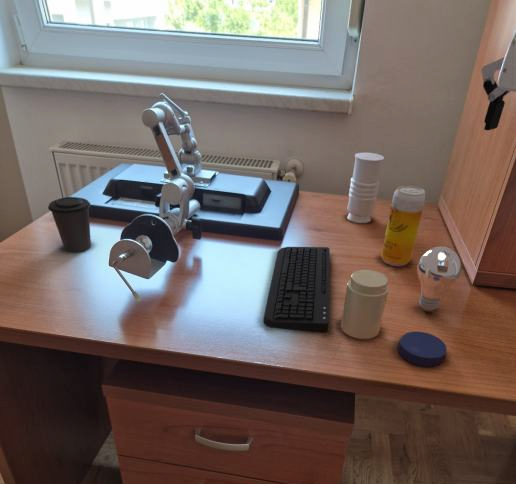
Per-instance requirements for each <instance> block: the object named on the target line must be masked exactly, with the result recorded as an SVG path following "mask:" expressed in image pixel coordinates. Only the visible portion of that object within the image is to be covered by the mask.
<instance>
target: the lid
mask: <svg viewBox="0 0 516 484" xmlns="http://www.w3.org/2000/svg"><path fill="white" fill-rule="evenodd" d="M447 350H448V349H447V346H446V343H445V342H444V341H443V340H442V339H441V338H439V337H437V336H436V335H434V334H431V333H428V332H424V331H409V332H406V333H403V334H402V336H401V337H400V340H399V341H398V345H397V351H398V354H399V355H400V357H401V358H402V359H403V360H405V361H407V362H408V363H410V364H412V365H415V366H419V367H423V368H424V367H425V368H426V367H428V368H432V367H437V366H438V365H440V364H441V363H443V362H444V360H445V358H446V356H447Z"/></svg>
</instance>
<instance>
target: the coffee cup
mask: <svg viewBox="0 0 516 484" xmlns="http://www.w3.org/2000/svg"><path fill="white" fill-rule="evenodd" d="M90 207H91V202H90V201H89V200H88V199H87V198H83V197H77V196H76V197H75V196H67V197H66V196H65V197H61V198H57V199H54V200H52V201H50V203H48V206H47V209H48V210H49V212H51V215H52V217H53V220H54V222H55V226H56V228H57V232H58V234H59V237H60V240H61V242H62V246H63V248H64V250H65V251H66V252H70V253H80V252H81V253H82V252H85V251H87V250H89V249H90V248H91V247H92V239H91V225H90V223H91V222H90V209H89V208H90Z"/></svg>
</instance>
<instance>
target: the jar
mask: <svg viewBox="0 0 516 484" xmlns="http://www.w3.org/2000/svg"><path fill="white" fill-rule="evenodd" d="M388 285H389V280H388V277H387V276H386V275H385V274H383V273H382V272H379V271H376V270H373V269H372V270H371V269H359V270H355V271H354V272H352V274H351V276H350V279H348V281H347V284H346V291H345V297H344V301H343V304H344V305H343V308H342V313H341V314H342V315H341V320H340V329H341V331H342V332H343V333H344V334H346V335H347V336H349V337H351V338H355V339H358V340H369V339H373V338H375V337H377V336H378V335H379V333H380V329H381V325H382V321H383V316H384V313H385V308H386V304H387V299H388V295H389V290H390V288H389V286H388Z"/></svg>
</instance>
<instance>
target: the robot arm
mask: <svg viewBox="0 0 516 484" xmlns="http://www.w3.org/2000/svg"><path fill="white" fill-rule="evenodd" d="M497 71H499V74H498V77H497V82H496V80H495V73H496V72H497ZM481 76H482V81H483V83H482V87H483V89H484V92H485V93H486V96H487V101H488V103H489V104H488V106H487V109H486V114H485V117H484V121H483V123H485V125H484V129H483V130H485V131H492V130H495V129H497V128H498V126H499V124H500V121H501V117H502V114H503V111H504V107H505V105H506V103H505V102H506V101H505V100H504V98H505V97H506V96H507V95H509V93H511V92H512V93H513V92H514V93H516V29H515V30H514V32H513V35H512V38H511V39H510V43H509V44H508V47H507V51H506V53H505V55H504V57H502V58H499V59H496V60H495V61H492V62H491V63H488V64H486V65H484V66H482V67H481Z"/></svg>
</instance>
